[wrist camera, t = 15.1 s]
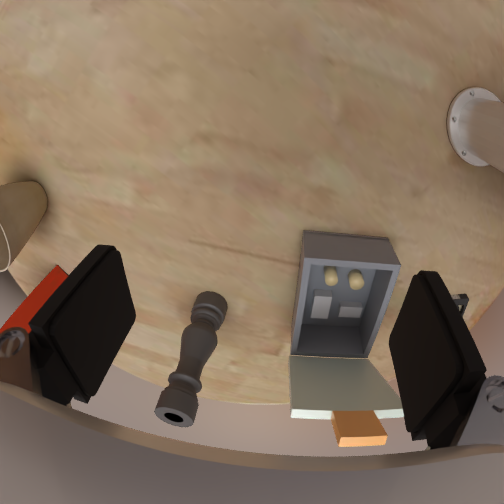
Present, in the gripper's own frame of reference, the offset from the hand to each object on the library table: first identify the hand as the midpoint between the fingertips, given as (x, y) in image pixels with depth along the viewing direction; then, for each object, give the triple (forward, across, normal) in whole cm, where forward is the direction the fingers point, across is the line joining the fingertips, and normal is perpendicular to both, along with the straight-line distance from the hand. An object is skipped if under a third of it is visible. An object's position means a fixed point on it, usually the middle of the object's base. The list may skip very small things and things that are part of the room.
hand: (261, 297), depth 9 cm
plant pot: (+36, +49, +12) cm, 62 cm away
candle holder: (+36, +12, +33) cm, 51 cm away
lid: (+17, -11, +29) cm, 35 cm away
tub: (+36, -10, +26) cm, 46 cm away
